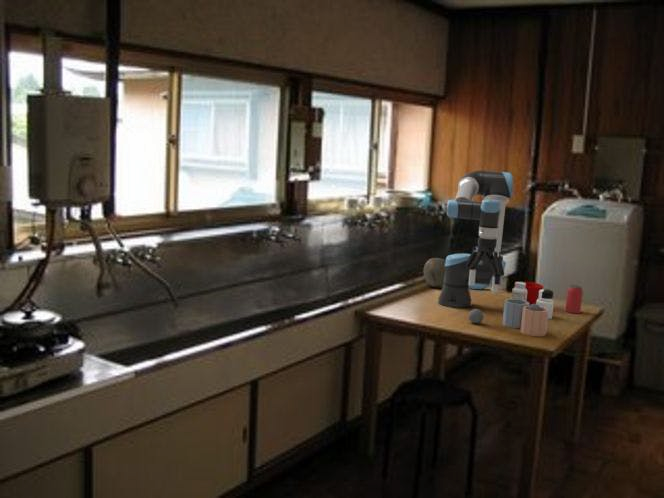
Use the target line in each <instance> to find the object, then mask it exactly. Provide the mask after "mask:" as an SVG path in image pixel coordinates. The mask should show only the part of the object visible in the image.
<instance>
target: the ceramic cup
mask: <svg viewBox="0 0 664 498" xmlns="http://www.w3.org/2000/svg"><path fill="white" fill-rule="evenodd" d="M522 282H523V283H526V287H525V289H527V302H529V306H530V305H531V304H536V301H537V299H539V298H538V297H539V291H540V290H542V289H544V285H542V284H540V283H537V282H532V281H522Z"/></svg>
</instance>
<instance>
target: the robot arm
mask: <svg viewBox="0 0 664 498" xmlns="http://www.w3.org/2000/svg"><path fill="white" fill-rule="evenodd" d="M513 180H514V178H513V174H512V173H511V172H506V171H505V172H504V171H495V170H494V171H493V170H480V169H479V170H474V171H470V172H468V173H466V174H465V175H463V176H462V177H461V178H460V179H459V181H458V185H457V193H456V195H455V198H454V199H448V201H447V204H446V215H447V217H449V218H454V219H457V218H458V219H465V220H467V219H468V220H477V221H478V220H479V224H478V225H479V226H478V236H479V237H478V238H477V246H473V247H472V249H471V252H470V253H454V254H450V255H447V256H446V258H445V260H446V263H445V274H444V285H443V287H442V289H441V292H440V294H439V295H438V299H437V303H438V304H439V305H442V306H445V307H450V308H457V309H459V308H460V309H461V308H470V307H471V306H472V303H473V302H472V297H471V292H470V288H469V285H475V284H481V285H488V286H489V287H491V293H498V292H499V291H498V290H499V286H500V285H501V284H502V282H503V278H504V277H505V268H506V265H507V262H506V261H505V260H504V256H503V255H502V254H501V252H502V251H501V250H502V242H503V232H504V231H503V230H504V222H505V213H506V212H505V211H506V205H507V204H508V203H509V202H510V200H511V199H513V198H514V181H513ZM475 196H483V200H482V201H474V197H475Z"/></svg>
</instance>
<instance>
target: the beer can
mask: <svg viewBox="0 0 664 498" xmlns="http://www.w3.org/2000/svg"><path fill="white" fill-rule="evenodd" d="M583 291H584V290H583V287H582V286H580V285H574V284H569V286H568V289H567V292H566V293H567V294H566V302H565V311H566V313H568V314H580V313H581V309H582V301H583V294H584V293H583Z"/></svg>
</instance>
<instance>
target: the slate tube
mask: <svg viewBox="0 0 664 498" xmlns="http://www.w3.org/2000/svg"><path fill="white" fill-rule="evenodd" d="M503 302H504V304H503V313H502V323H501V324H502V325H503V326H505V327H508V328H512V329H521V321H522V312H523V307H524V306H529V302H527V301H524V300H519V299H512V298H508V299H505V300H504V301H503Z"/></svg>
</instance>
